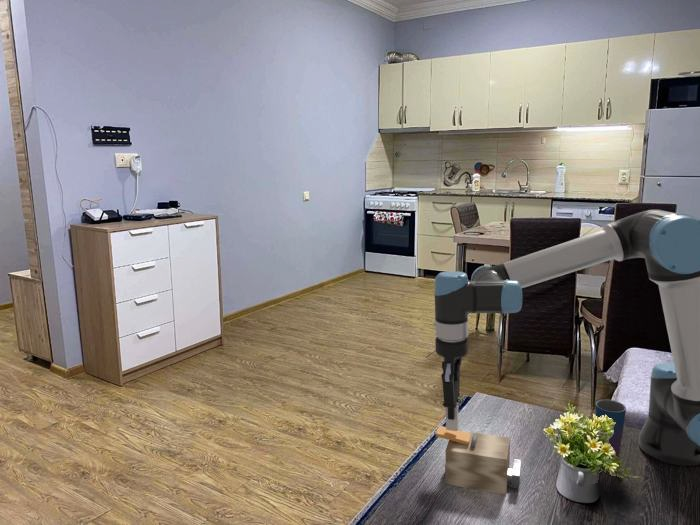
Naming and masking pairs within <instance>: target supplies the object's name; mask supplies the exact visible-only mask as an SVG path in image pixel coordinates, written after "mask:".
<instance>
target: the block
mask: <svg viewBox="0 0 700 525" xmlns="http://www.w3.org/2000/svg"><path fill="white" fill-rule="evenodd" d="M458 430H459V429H458ZM459 431H462V432H466V433H470V434H471V438H470V442H469V445H467V444H463V443H459V442H455V441H452V440H448V441H447V442H448V443H447V445H446V447H445V463H446V475H445V485H449V486H454V487H459V488H460V487H461V488H465V489H471V490H477V491H482V492H488V493H492V494H493V493H494V494H498V495H504V496H506V495H507V490H508V486H507V472H508V468H510V463H511V462H510V458H511V456H510V455H511V437H507V436H500V435H492V434H487V433H481V432H479V433H478V432H472V431H467V430H459ZM473 434H477V435H478V437H477V441H476V445H475V447H471V441H472V438H473Z"/></svg>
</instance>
